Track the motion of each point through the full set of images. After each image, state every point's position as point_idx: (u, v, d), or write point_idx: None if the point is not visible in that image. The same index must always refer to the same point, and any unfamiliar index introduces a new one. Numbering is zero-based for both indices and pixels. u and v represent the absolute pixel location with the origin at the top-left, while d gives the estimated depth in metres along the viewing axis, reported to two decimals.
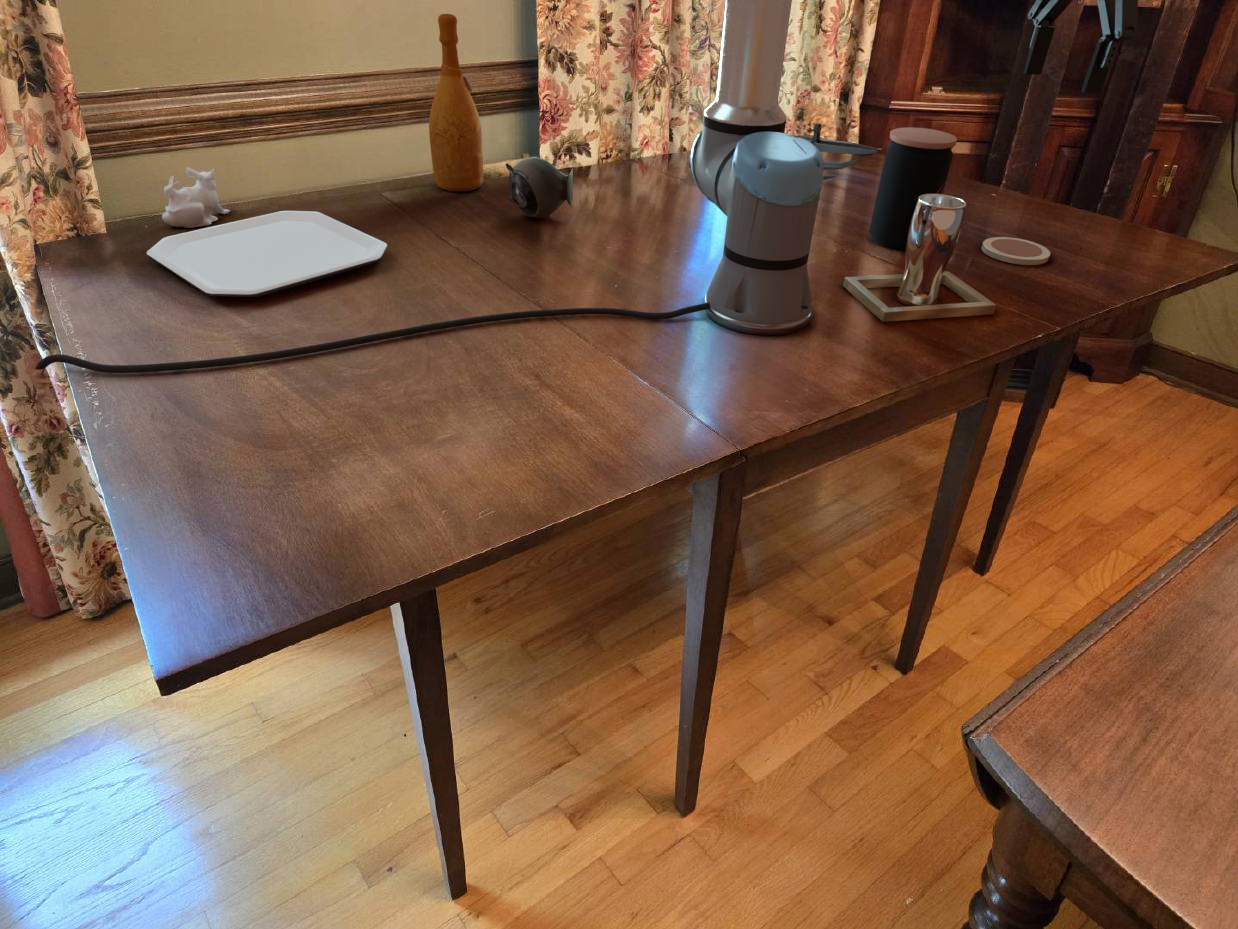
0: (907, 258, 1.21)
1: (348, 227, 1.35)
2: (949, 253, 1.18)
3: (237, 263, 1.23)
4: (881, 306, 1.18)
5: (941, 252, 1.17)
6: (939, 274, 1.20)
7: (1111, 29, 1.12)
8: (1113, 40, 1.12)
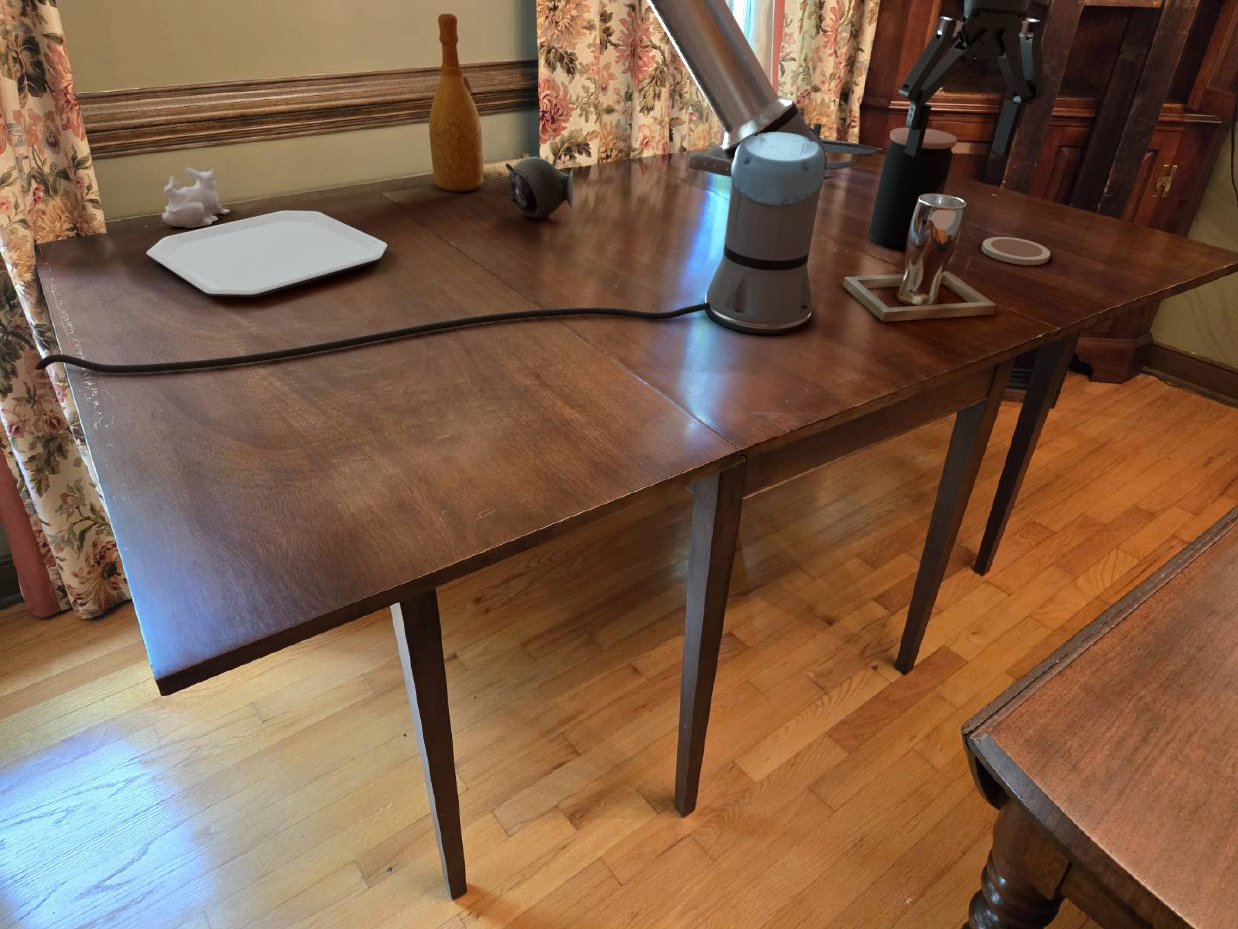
0: (907, 258, 1.21)
1: (348, 227, 1.35)
2: (949, 253, 1.18)
3: (237, 263, 1.23)
4: (881, 306, 1.18)
5: (941, 252, 1.17)
6: (939, 274, 1.20)
7: None
8: (909, 99, 1.08)
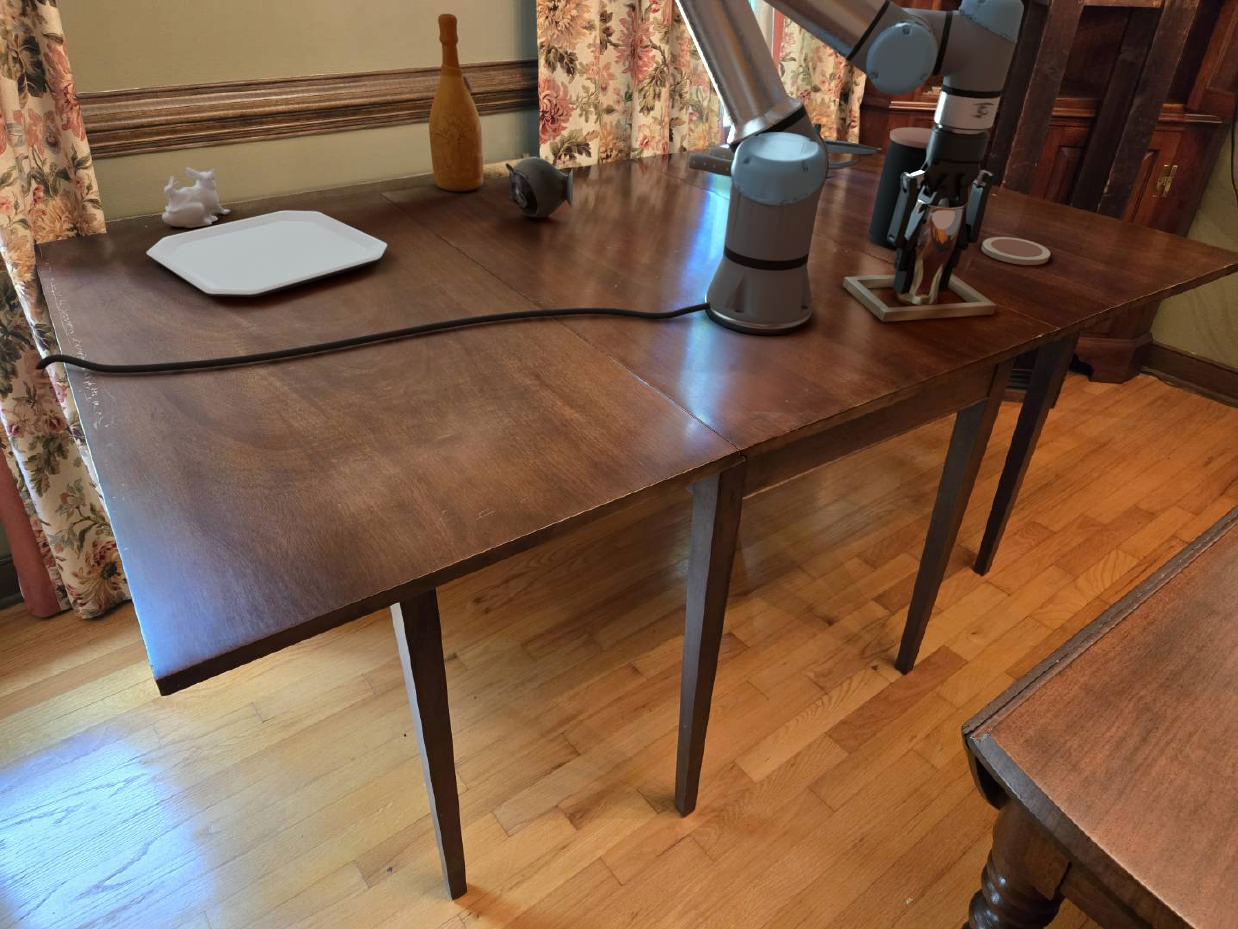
0: None
1: (348, 227, 1.35)
2: (949, 253, 1.18)
3: (237, 263, 1.23)
4: (881, 306, 1.18)
5: (941, 252, 1.17)
6: (939, 274, 1.20)
7: None
8: None
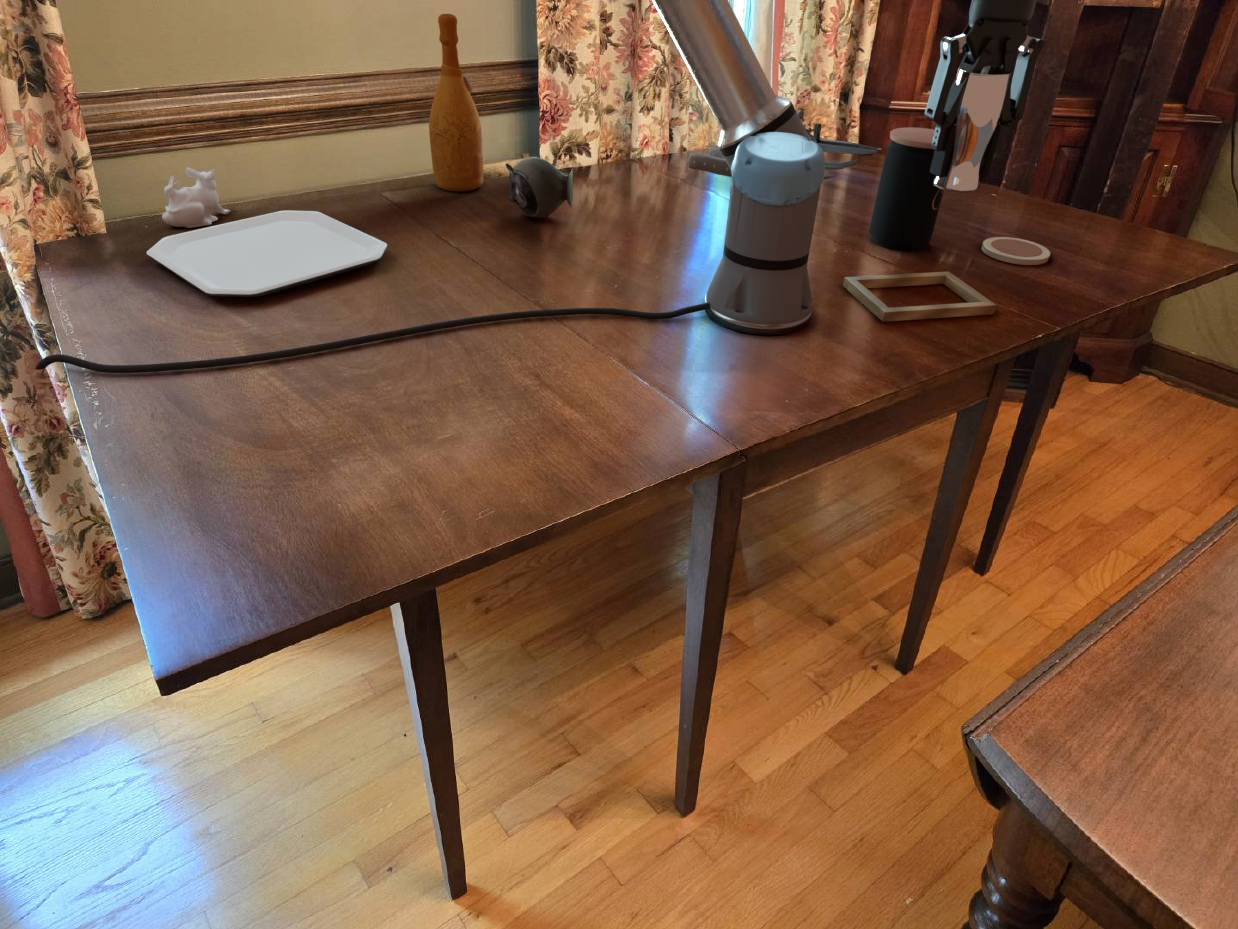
0: None
1: (348, 227, 1.35)
2: (991, 128, 1.09)
3: (237, 263, 1.23)
4: (881, 306, 1.18)
5: (983, 127, 1.09)
6: (980, 153, 1.12)
7: None
8: (935, 121, 1.11)
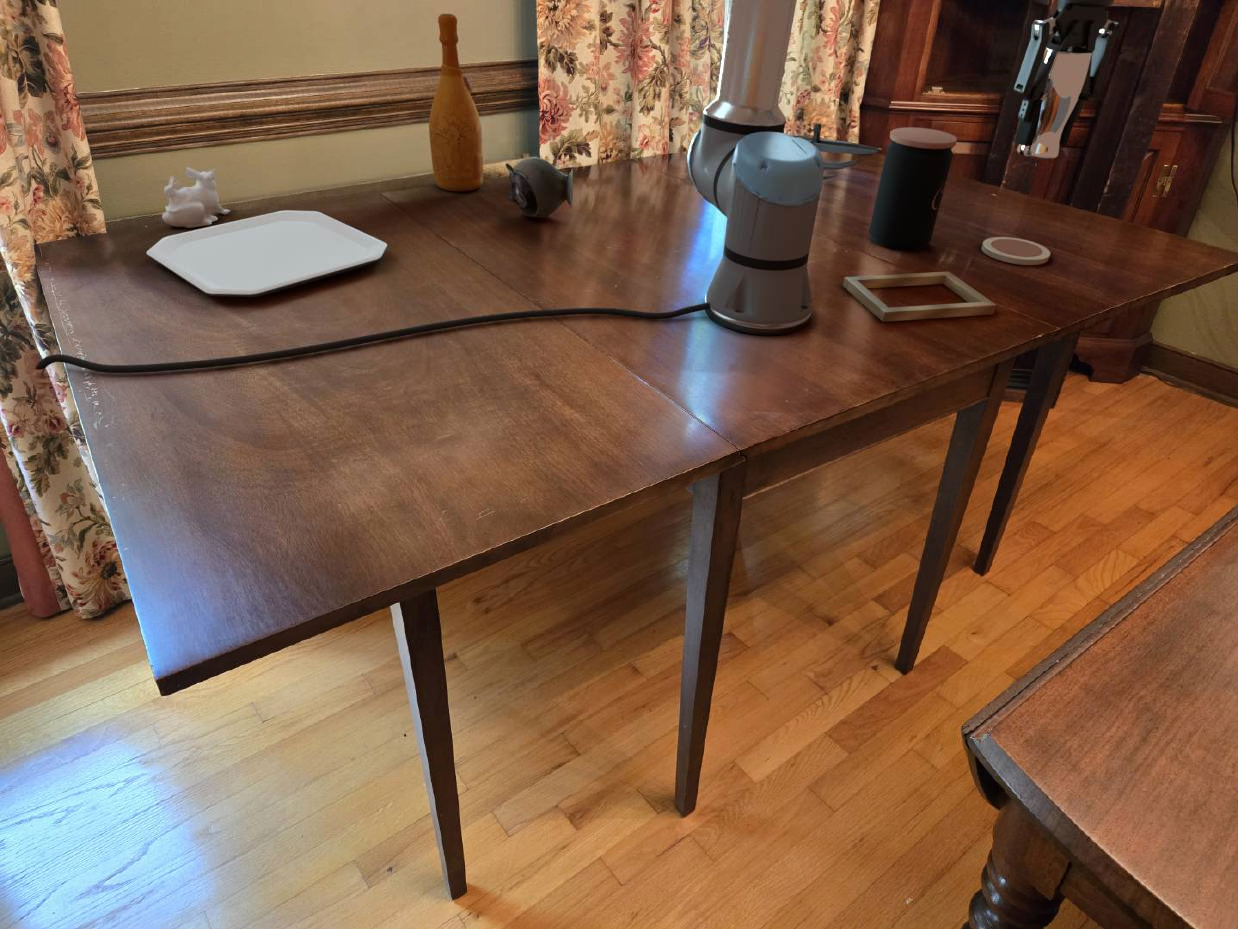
0: None
1: (348, 227, 1.35)
2: (1074, 101, 1.24)
3: (237, 263, 1.23)
4: (881, 306, 1.18)
5: (1067, 100, 1.23)
6: (1063, 124, 1.26)
7: None
8: (1023, 96, 1.25)
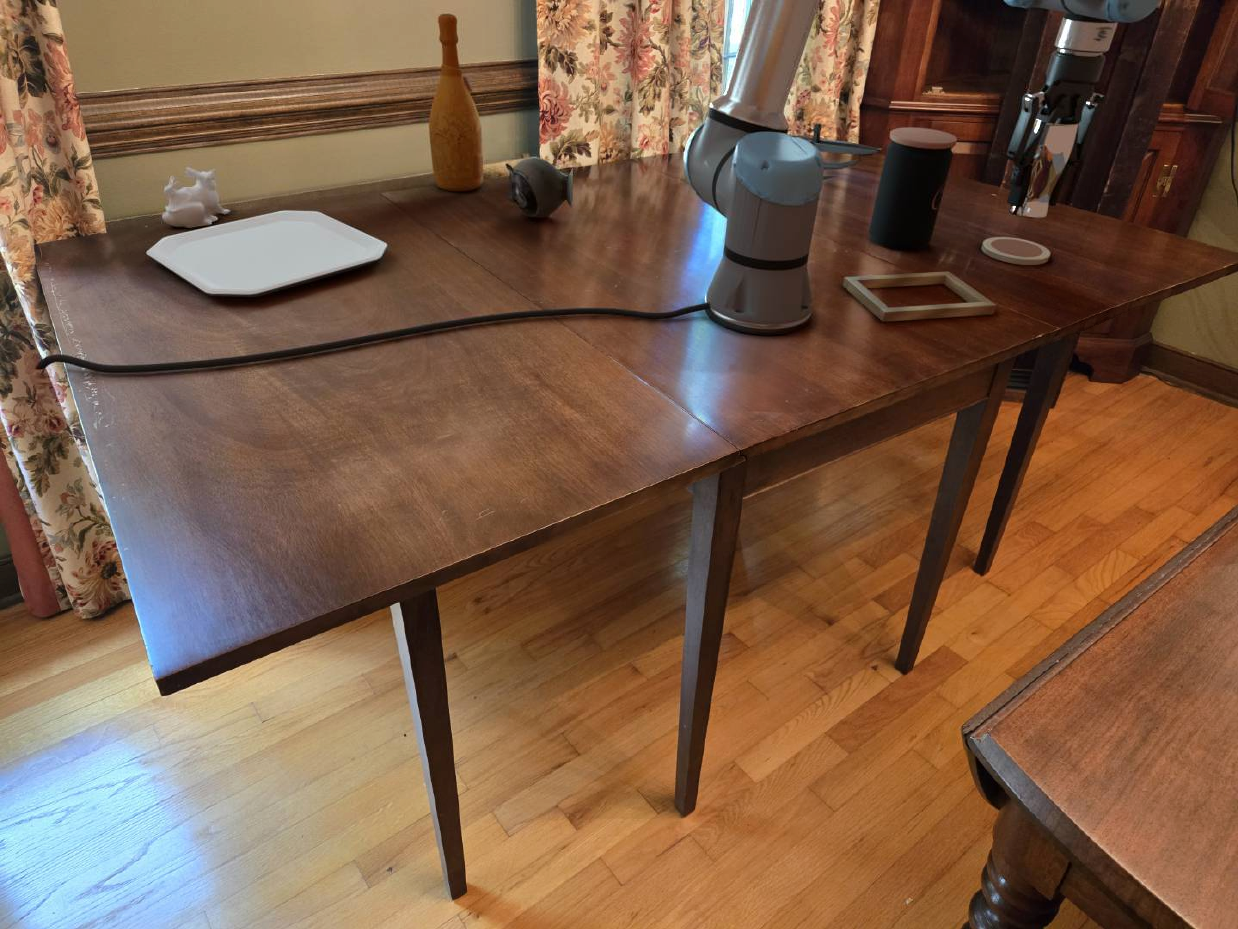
0: None
1: (348, 227, 1.35)
2: (1062, 167, 1.32)
3: (237, 263, 1.23)
4: (881, 306, 1.18)
5: (1056, 166, 1.31)
6: (1052, 188, 1.34)
7: None
8: (1014, 161, 1.34)
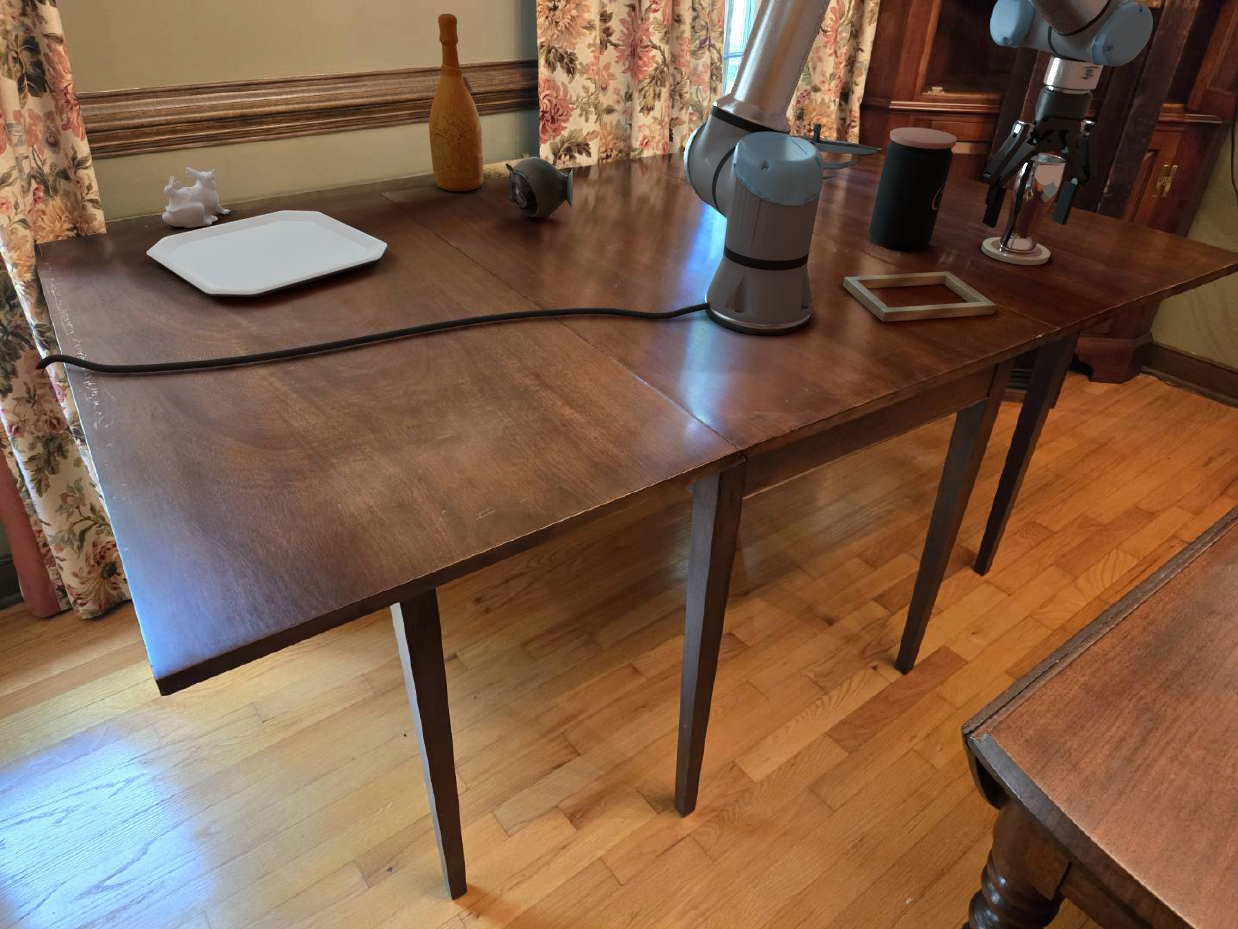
0: (1011, 210, 1.38)
1: (348, 227, 1.35)
2: (1050, 204, 1.36)
3: (237, 263, 1.23)
4: (881, 306, 1.18)
5: (1044, 203, 1.35)
6: (1040, 223, 1.38)
7: None
8: (989, 182, 1.35)
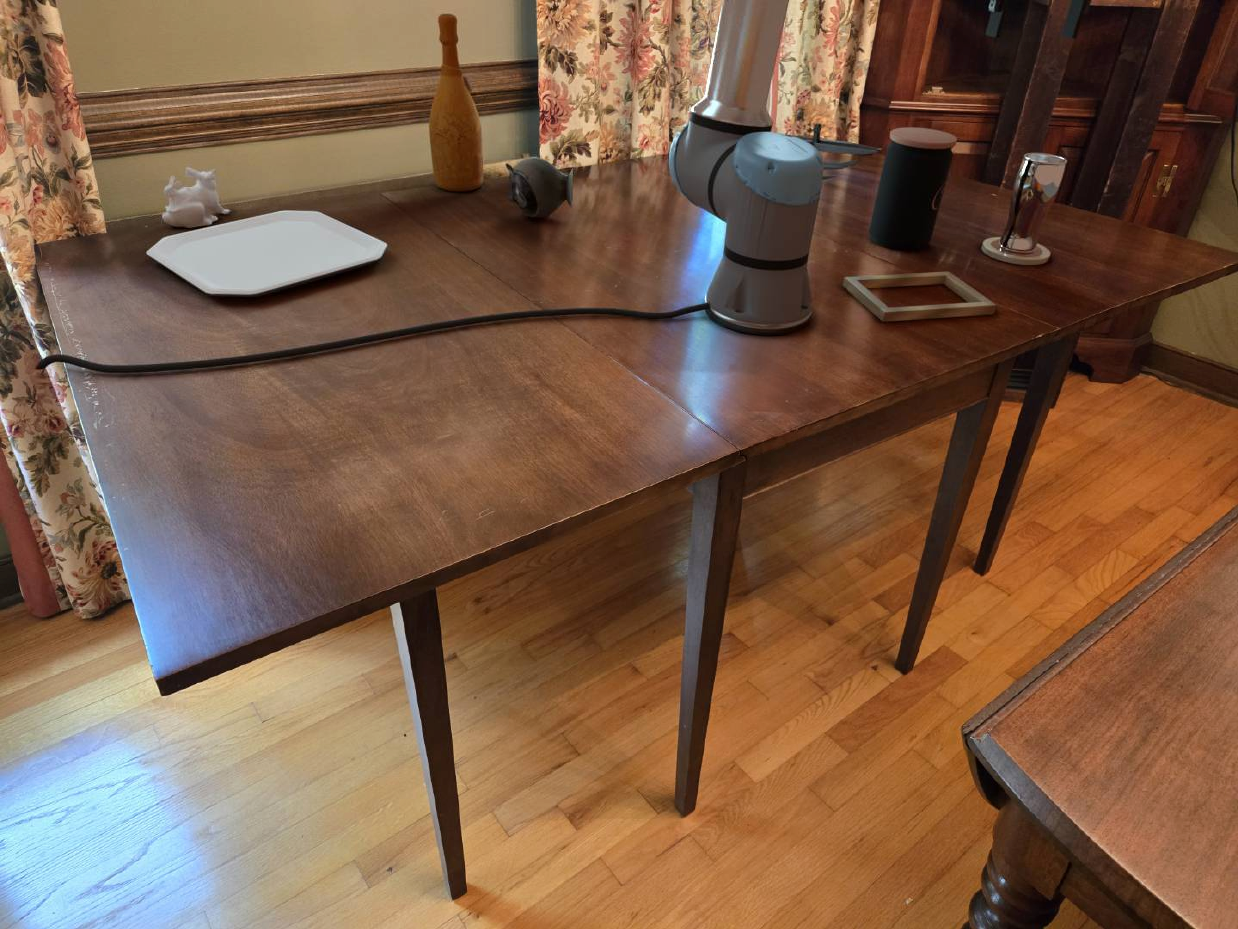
0: (1011, 210, 1.38)
1: (348, 227, 1.35)
2: (1050, 204, 1.36)
3: (237, 263, 1.23)
4: (881, 306, 1.18)
5: (1044, 203, 1.35)
6: (1040, 223, 1.38)
7: None
8: None
